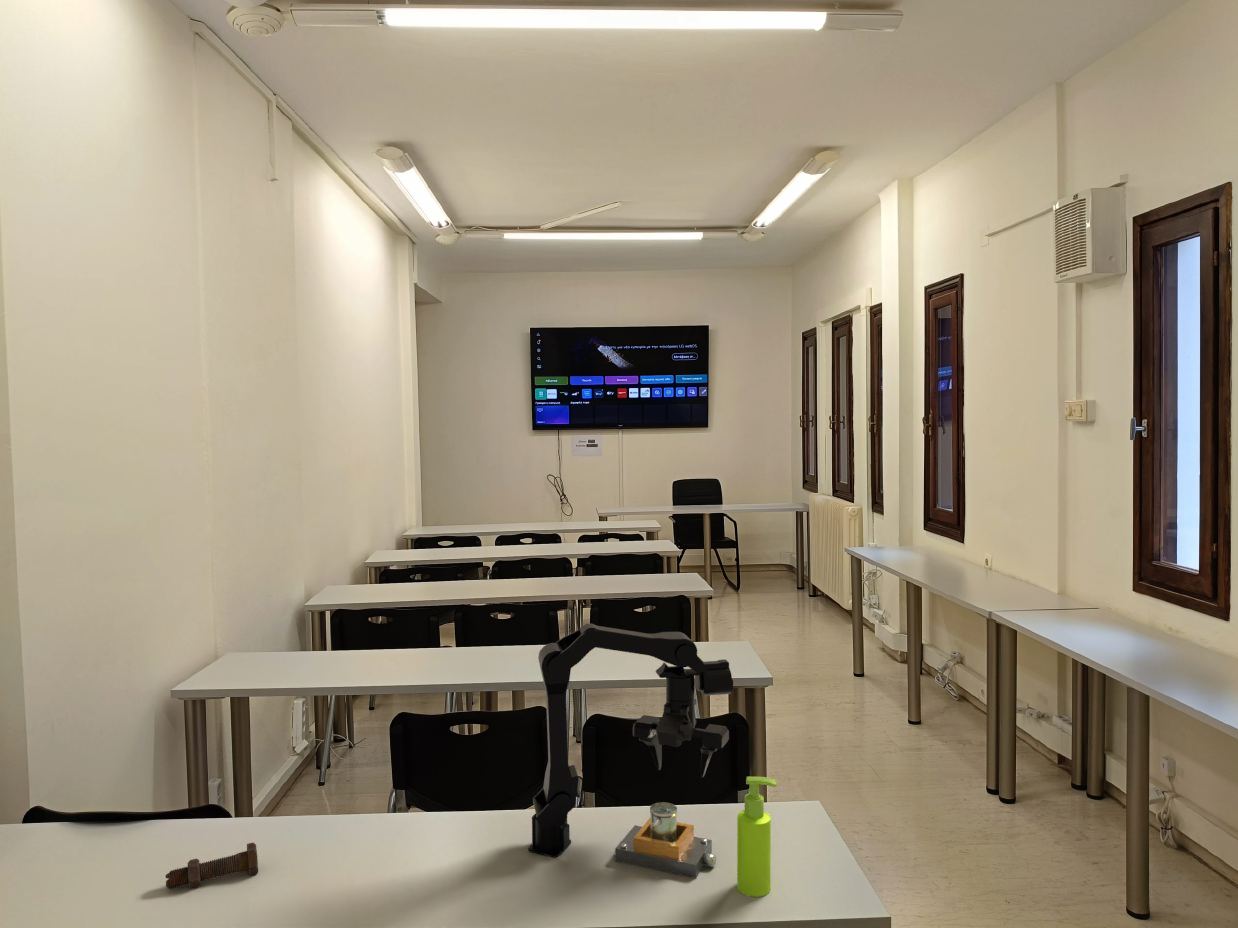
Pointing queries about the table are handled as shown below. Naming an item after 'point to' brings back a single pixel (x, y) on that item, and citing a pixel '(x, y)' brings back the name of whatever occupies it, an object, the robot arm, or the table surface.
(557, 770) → the robot arm
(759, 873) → the soap dispenser
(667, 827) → the spout can
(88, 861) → the table surface
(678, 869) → the grey orange socket fixture
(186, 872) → the bolt
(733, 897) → the table surface
